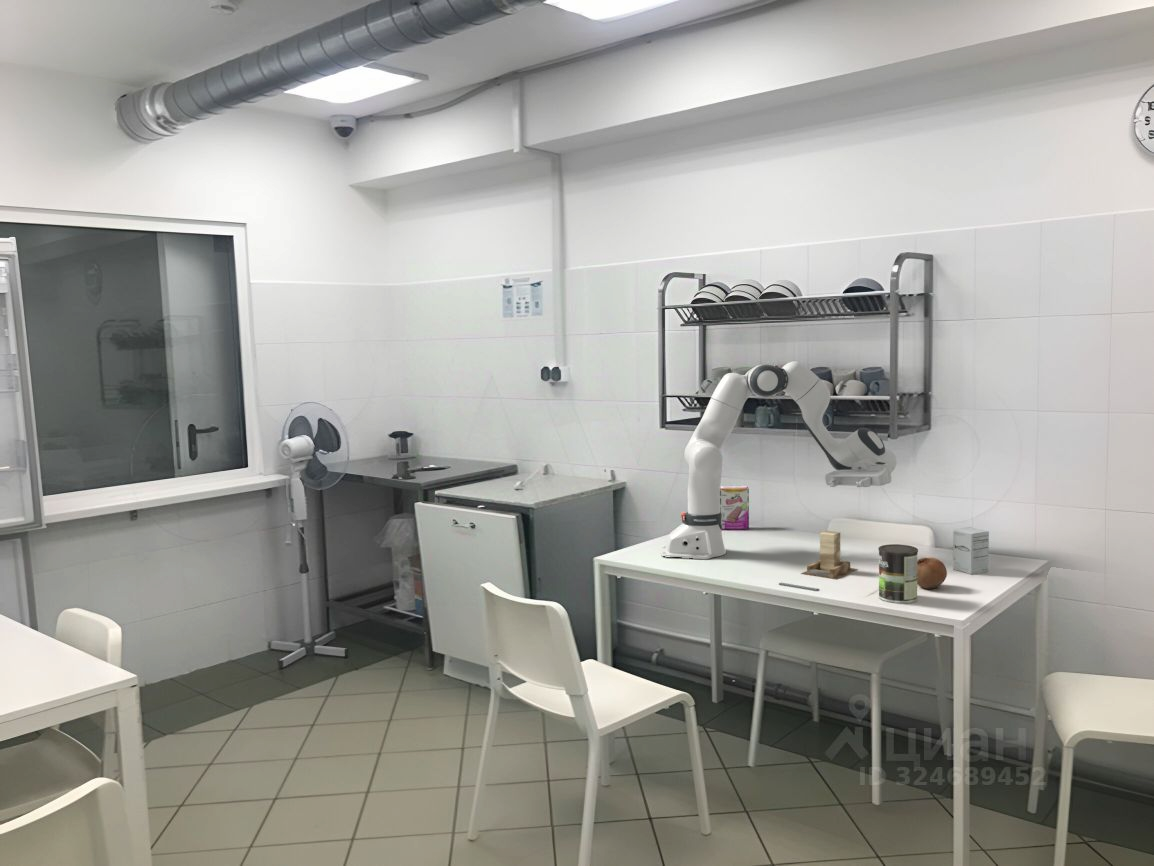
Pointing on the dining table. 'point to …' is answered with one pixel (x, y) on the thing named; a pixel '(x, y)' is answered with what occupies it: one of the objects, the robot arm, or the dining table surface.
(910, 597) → the coffee can
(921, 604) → the dining table surface
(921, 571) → the onion
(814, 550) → the dining table surface
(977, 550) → the supplement box
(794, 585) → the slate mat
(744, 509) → the candy bar box
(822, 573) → the walnut chute
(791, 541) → the dining table surface
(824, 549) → the maple block
